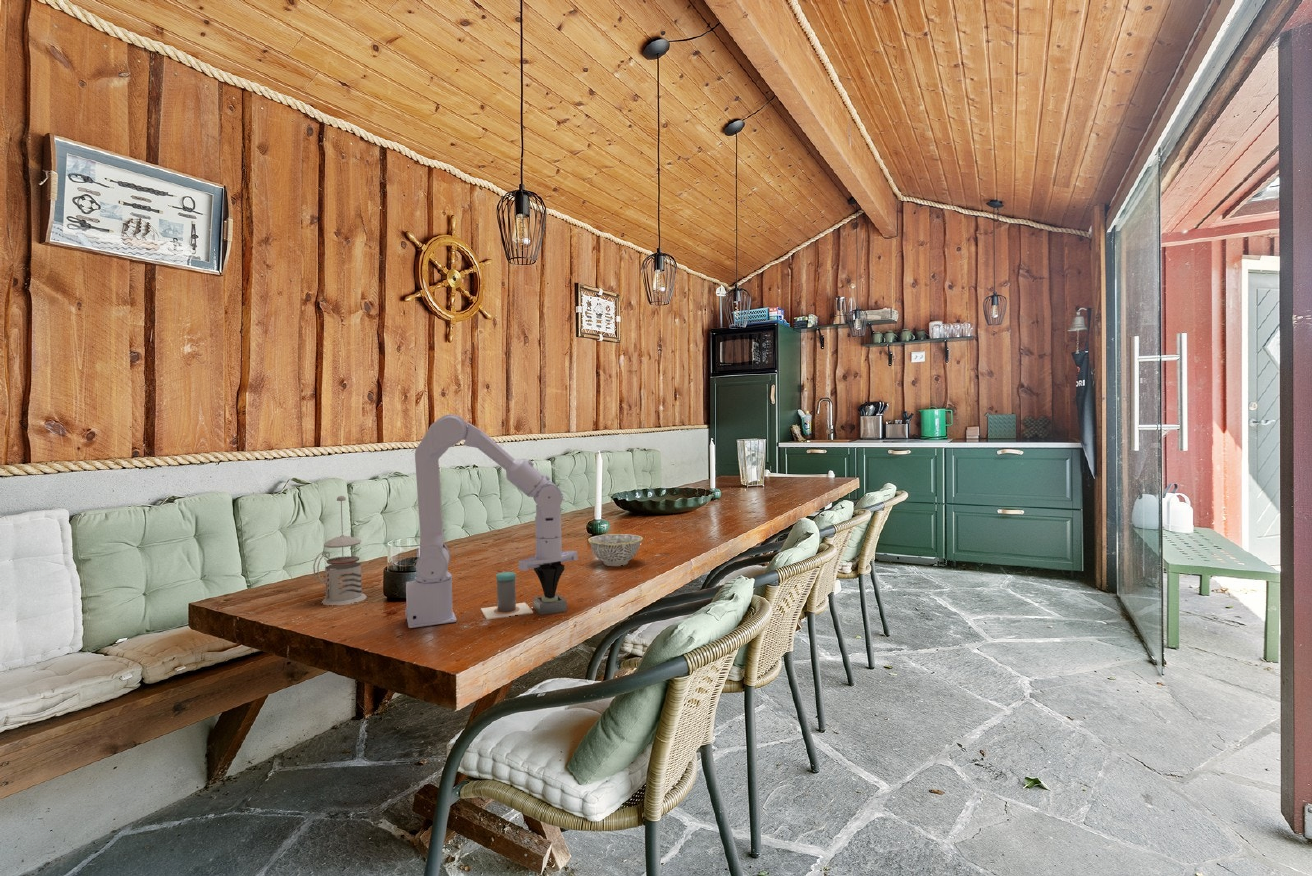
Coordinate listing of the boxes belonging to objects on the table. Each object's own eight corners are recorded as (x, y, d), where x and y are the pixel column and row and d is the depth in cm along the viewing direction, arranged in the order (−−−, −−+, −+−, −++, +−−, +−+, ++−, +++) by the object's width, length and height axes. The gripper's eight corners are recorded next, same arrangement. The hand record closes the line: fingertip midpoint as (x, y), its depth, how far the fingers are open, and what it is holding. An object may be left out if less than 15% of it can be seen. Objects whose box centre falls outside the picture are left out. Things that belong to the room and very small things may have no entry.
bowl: (586, 559, 193) (586, 534, 193) (638, 556, 196) (638, 532, 196) (590, 571, 177) (590, 544, 177) (647, 568, 180) (647, 542, 180)
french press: (375, 597, 155) (372, 494, 154) (328, 610, 145) (324, 500, 144) (352, 591, 160) (349, 492, 159) (305, 603, 150) (301, 497, 150)
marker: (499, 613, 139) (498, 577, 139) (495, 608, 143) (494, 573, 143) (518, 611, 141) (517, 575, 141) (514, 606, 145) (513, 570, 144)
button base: (540, 615, 139) (539, 604, 139) (533, 607, 144) (533, 597, 144) (566, 611, 141) (566, 600, 141) (559, 604, 147) (559, 593, 147)
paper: (486, 619, 136) (486, 618, 136) (480, 609, 143) (480, 608, 143) (533, 613, 140) (533, 611, 140) (525, 603, 148) (525, 602, 148)
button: (543, 609, 140) (543, 600, 140) (539, 605, 144) (539, 596, 144) (559, 607, 142) (559, 598, 142) (555, 603, 145) (555, 594, 145)
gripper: (564, 530, 150) (565, 587, 151) (510, 538, 140) (511, 600, 140) (582, 533, 145) (583, 592, 146) (528, 543, 135) (529, 606, 135)
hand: (549, 597), depth 143 cm, fingers closed
